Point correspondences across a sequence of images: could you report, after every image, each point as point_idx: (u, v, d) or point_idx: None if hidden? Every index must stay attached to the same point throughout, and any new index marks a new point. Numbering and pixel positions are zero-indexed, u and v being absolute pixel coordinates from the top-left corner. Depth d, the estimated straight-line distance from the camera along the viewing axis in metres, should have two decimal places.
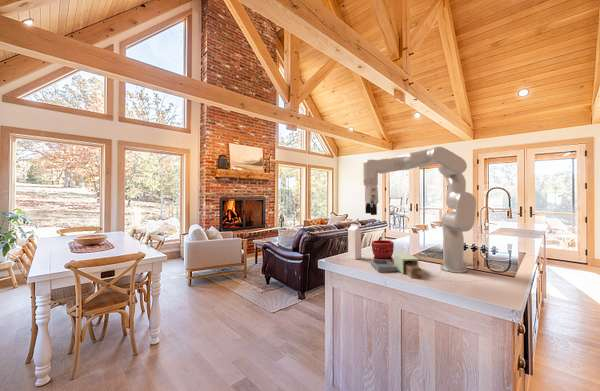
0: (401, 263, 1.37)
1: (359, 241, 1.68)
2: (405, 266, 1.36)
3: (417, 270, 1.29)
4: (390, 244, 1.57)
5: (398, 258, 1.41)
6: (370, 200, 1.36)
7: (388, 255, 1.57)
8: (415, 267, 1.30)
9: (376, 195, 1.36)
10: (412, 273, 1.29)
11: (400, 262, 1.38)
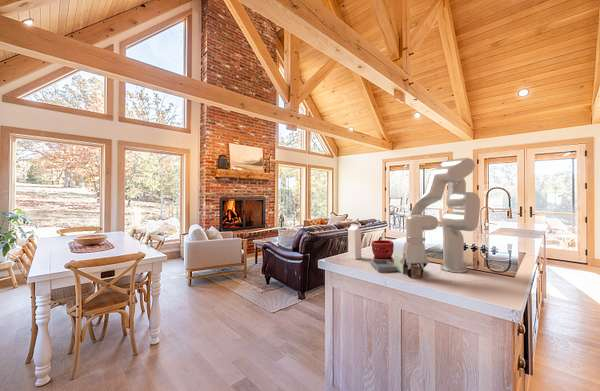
0: None
1: (359, 241, 1.68)
2: None
3: (417, 270, 1.29)
4: (390, 244, 1.57)
5: (398, 258, 1.41)
6: (426, 260, 1.29)
7: (388, 255, 1.57)
8: (415, 267, 1.31)
9: None
10: (412, 273, 1.29)
11: None
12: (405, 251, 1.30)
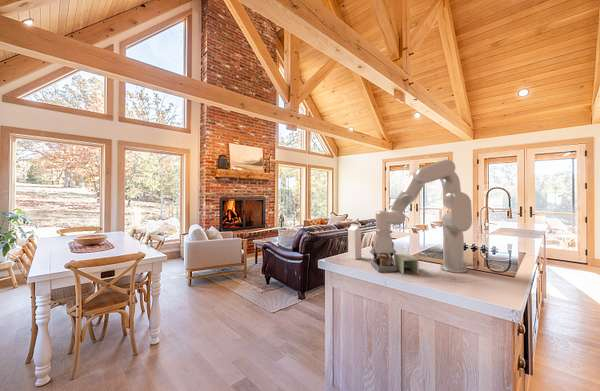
0: (401, 263, 1.37)
1: (359, 241, 1.68)
2: None
3: (387, 261, 1.42)
4: None
5: (398, 258, 1.41)
6: (392, 250, 1.45)
7: None
8: (386, 258, 1.43)
9: None
10: (382, 263, 1.42)
11: (400, 262, 1.38)
12: (374, 242, 1.46)
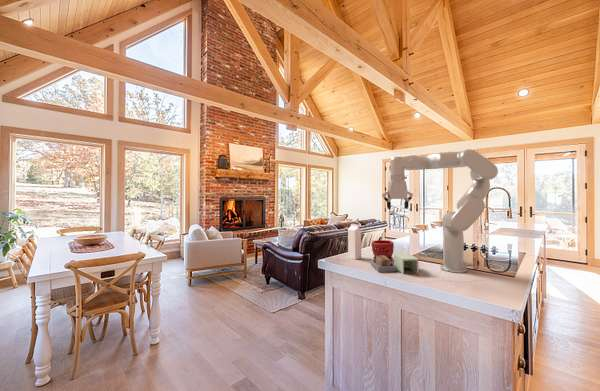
0: (401, 263, 1.37)
1: (359, 241, 1.68)
2: (377, 258, 1.49)
3: (387, 262, 1.42)
4: (390, 244, 1.57)
5: (398, 258, 1.41)
6: None
7: (388, 255, 1.57)
8: (385, 259, 1.43)
9: None
10: (382, 264, 1.42)
11: (400, 262, 1.38)
12: (389, 188, 1.46)
